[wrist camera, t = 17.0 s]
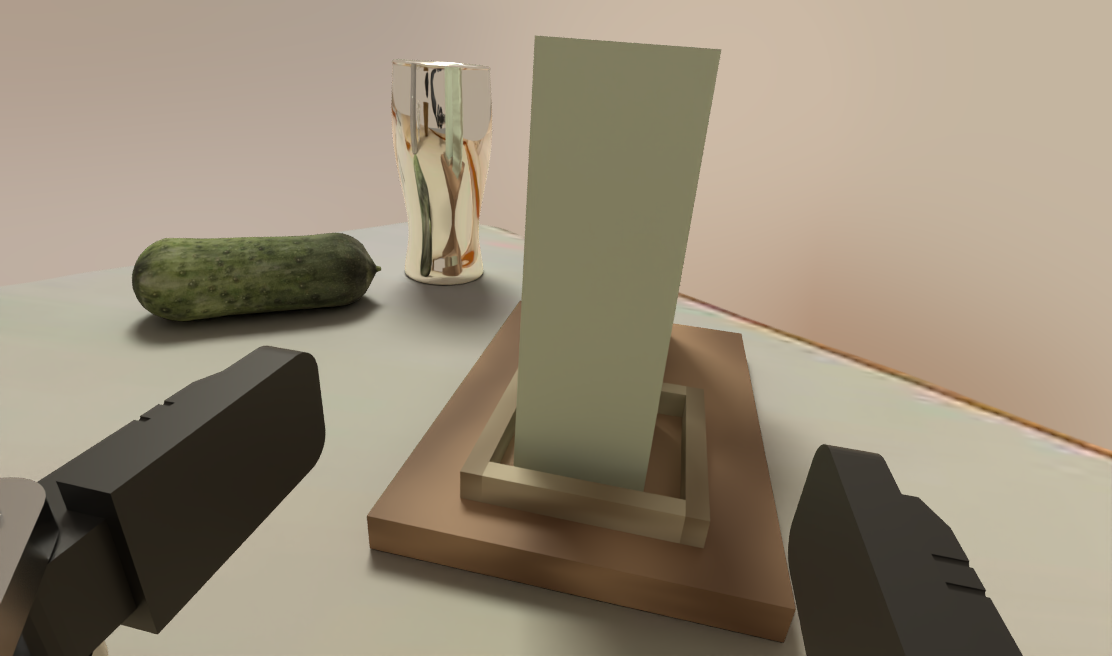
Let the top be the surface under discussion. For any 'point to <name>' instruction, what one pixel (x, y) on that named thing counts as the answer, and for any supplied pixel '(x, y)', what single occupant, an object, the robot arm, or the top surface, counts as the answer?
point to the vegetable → (250, 275)
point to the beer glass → (442, 164)
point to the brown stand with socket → (606, 497)
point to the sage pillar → (605, 248)
